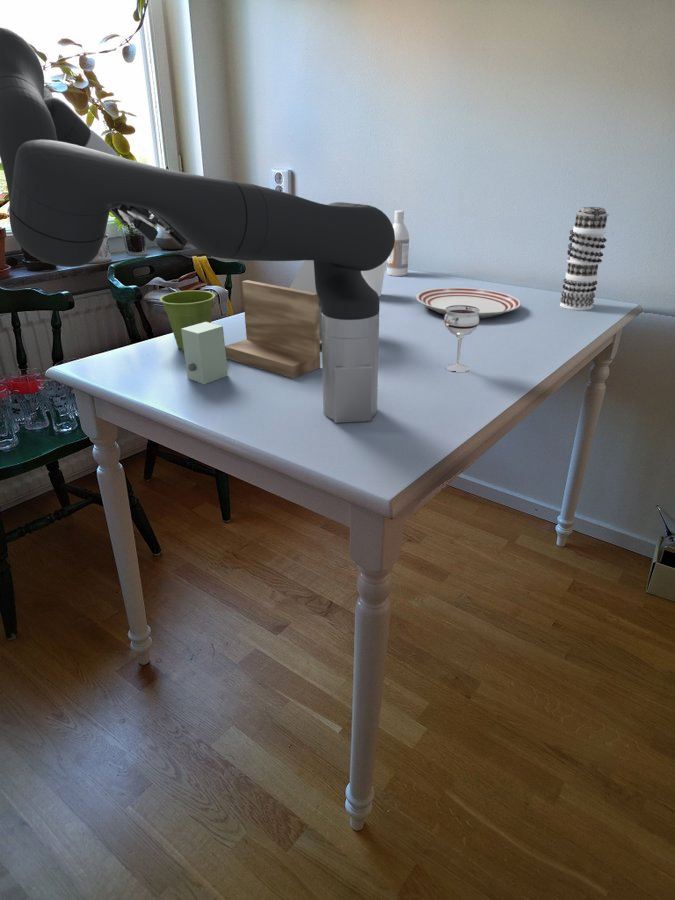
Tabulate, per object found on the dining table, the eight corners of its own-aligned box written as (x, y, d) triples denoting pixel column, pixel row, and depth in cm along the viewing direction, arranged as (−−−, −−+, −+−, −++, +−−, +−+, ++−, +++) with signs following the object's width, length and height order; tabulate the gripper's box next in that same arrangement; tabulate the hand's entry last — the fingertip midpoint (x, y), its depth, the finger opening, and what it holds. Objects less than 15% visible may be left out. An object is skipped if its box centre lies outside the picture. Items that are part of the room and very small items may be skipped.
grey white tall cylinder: (554, 301, 170) (569, 205, 158) (588, 302, 169) (606, 205, 158) (562, 310, 162) (578, 209, 150) (598, 310, 161) (617, 209, 150)
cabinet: (200, 385, 116) (194, 334, 111) (184, 379, 119) (177, 329, 114) (227, 375, 121) (222, 326, 116) (211, 370, 124) (205, 321, 119)
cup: (349, 293, 181) (349, 251, 175) (378, 291, 183) (379, 249, 177) (359, 300, 173) (360, 257, 167) (389, 298, 175) (390, 255, 170)
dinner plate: (506, 297, 176) (507, 285, 175) (531, 323, 152) (533, 310, 150) (411, 297, 177) (412, 286, 175) (421, 324, 152) (421, 311, 151)
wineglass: (471, 362, 126) (477, 304, 121) (477, 374, 120) (483, 313, 115) (438, 362, 126) (442, 304, 121) (442, 374, 120) (447, 314, 115)
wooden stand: (293, 378, 119) (289, 301, 112) (225, 357, 130) (218, 286, 123) (320, 367, 124) (318, 293, 117) (252, 348, 136) (247, 280, 129)
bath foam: (382, 273, 206) (384, 210, 197) (400, 271, 209) (402, 209, 199) (393, 277, 200) (395, 212, 191) (411, 275, 203) (414, 211, 194)
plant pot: (164, 341, 141) (157, 292, 135) (215, 336, 144) (210, 288, 139) (169, 357, 131) (161, 305, 125) (224, 351, 134) (219, 300, 129)
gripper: (59, 187, 95) (134, 253, 108) (111, 191, 87) (185, 262, 100) (84, 148, 96) (155, 218, 109) (137, 149, 88) (207, 225, 101)
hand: (169, 239), depth 105 cm, fingers open, 8 cm apart
